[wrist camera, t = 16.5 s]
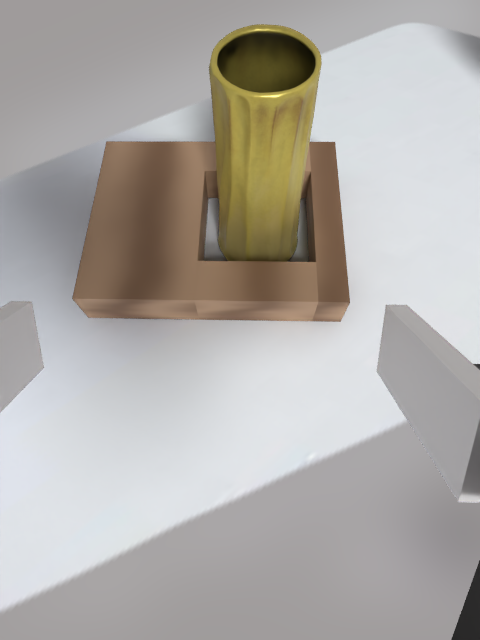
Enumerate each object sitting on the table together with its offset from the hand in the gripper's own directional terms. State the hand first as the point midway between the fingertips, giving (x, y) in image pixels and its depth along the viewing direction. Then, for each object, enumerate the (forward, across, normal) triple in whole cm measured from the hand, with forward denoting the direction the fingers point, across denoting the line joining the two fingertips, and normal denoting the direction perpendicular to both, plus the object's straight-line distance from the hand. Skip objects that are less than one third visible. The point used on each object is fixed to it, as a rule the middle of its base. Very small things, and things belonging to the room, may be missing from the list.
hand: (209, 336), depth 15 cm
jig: (+18, -1, 0) cm, 18 cm away
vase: (+18, +2, 0) cm, 18 cm away
